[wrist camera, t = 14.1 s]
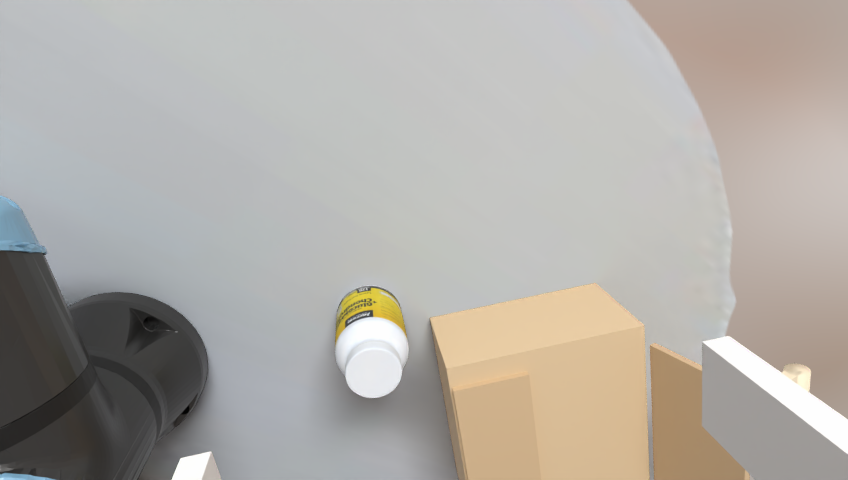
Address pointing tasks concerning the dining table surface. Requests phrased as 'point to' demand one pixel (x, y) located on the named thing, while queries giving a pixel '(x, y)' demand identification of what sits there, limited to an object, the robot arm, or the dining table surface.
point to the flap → (691, 421)
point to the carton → (545, 388)
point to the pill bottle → (371, 341)
